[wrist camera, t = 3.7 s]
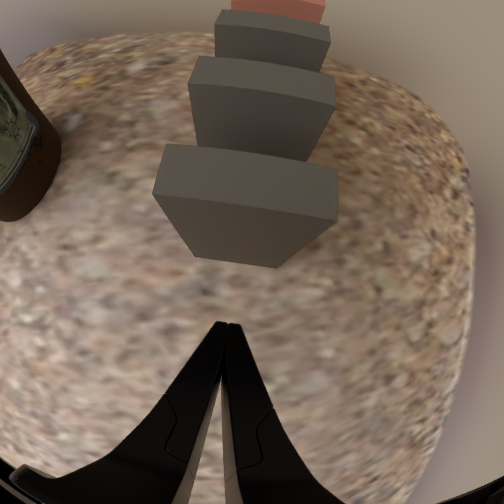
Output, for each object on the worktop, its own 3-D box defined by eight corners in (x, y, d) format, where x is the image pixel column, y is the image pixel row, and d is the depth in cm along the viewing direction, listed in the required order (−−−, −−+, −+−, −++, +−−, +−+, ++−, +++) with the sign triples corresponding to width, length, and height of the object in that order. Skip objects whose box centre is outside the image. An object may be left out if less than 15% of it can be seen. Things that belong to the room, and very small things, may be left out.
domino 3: (287, 151, 19) (330, 42, 9) (217, 140, 18) (214, 24, 8) (289, 133, 19) (328, 26, 9) (221, 123, 19) (222, 9, 9)
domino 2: (282, 204, 18) (336, 106, 8) (206, 193, 18) (187, 83, 8) (285, 182, 18) (334, 77, 8) (210, 171, 18) (199, 56, 8)
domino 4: (291, 108, 19) (325, 6, 10) (227, 99, 19) (232, -9, 9) (292, 95, 20) (323, -4, 10) (231, 86, 19) (237, -18, 10)
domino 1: (276, 268, 17) (337, 220, 7) (195, 256, 17) (152, 193, 7) (278, 243, 17) (338, 169, 7) (199, 231, 17) (166, 143, 7)
